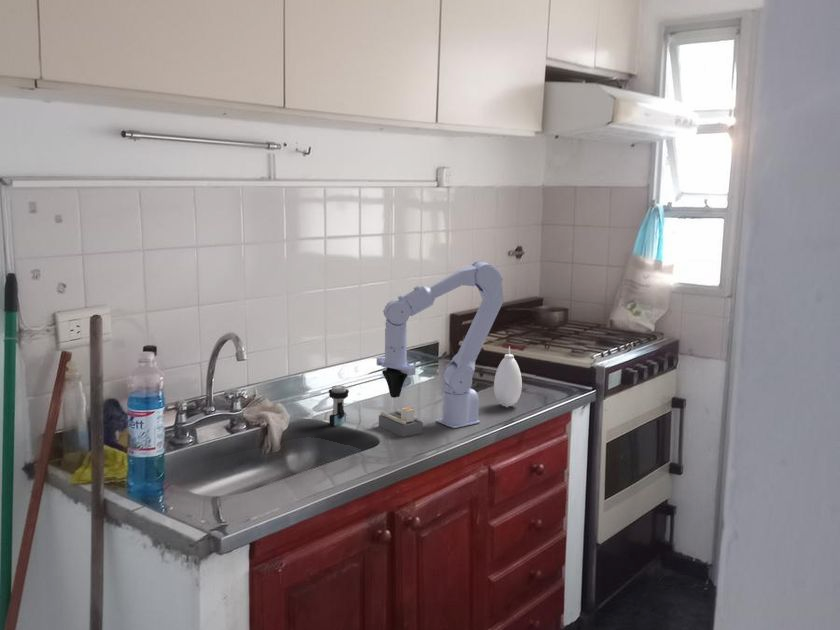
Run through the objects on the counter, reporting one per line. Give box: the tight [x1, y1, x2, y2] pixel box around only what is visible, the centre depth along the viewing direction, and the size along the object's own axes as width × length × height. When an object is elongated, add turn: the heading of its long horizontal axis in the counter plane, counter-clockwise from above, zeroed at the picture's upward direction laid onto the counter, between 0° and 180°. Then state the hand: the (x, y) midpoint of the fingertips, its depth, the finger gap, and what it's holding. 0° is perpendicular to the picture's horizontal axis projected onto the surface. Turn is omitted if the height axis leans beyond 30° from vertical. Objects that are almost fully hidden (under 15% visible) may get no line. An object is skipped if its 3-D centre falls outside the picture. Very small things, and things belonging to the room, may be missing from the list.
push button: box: [328, 385, 350, 427], centre depth 216 cm, size 7×5×10 cm
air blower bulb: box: [493, 345, 523, 407], centre depth 235 cm, size 8×8×18 cm
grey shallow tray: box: [378, 408, 424, 438], centre depth 212 cm, size 6×11×4 cm, turn 38°
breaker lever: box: [401, 406, 415, 422], centre depth 209 cm, size 2×2×3 cm
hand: (395, 396), depth 215 cm, fingers closed
